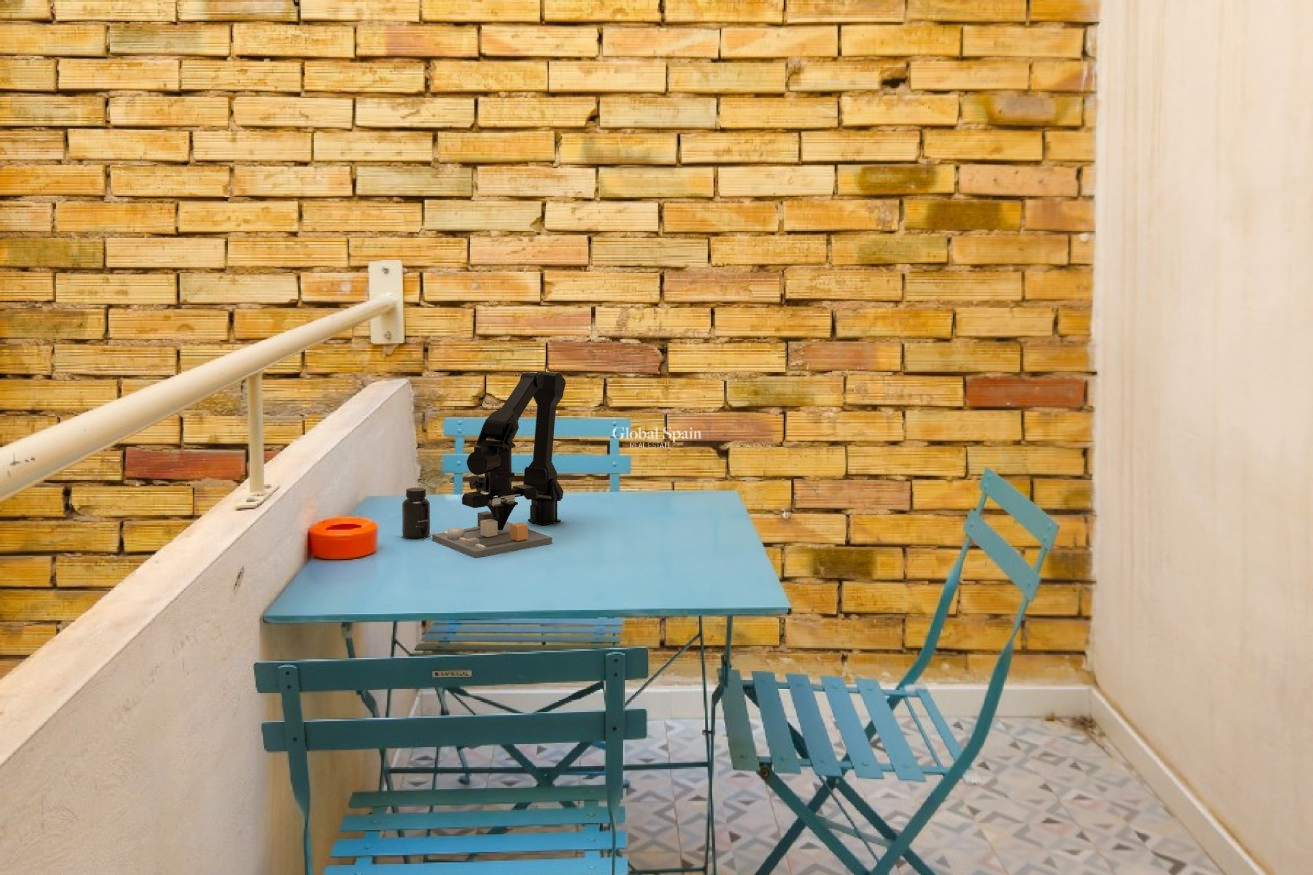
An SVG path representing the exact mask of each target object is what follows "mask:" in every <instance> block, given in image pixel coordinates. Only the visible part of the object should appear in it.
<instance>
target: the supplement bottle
mask: <svg viewBox="0 0 1313 875" xmlns="http://www.w3.org/2000/svg"><path fill="white" fill-rule="evenodd" d="M405 497H406V499H404V500H403V502H402V504H401V505H402V506H401V510H402V511H401V514H402V515H401V516H402V517H401V520H402V524H401V526H402V528H401V529H402V530H401V531H402V536H403V538H405V539H408V540H409V539H410V540H420V539H421V540H422V539H426V538H429V536H430V535H431V504H430V503H431V502H430V501H429V500H428V499H427V498H426V497H427V490H426V488H423V487H409V488H406V490H405Z"/></svg>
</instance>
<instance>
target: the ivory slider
mask: <svg viewBox="0 0 1313 875" xmlns="http://www.w3.org/2000/svg"><path fill="white" fill-rule="evenodd" d="M480 528H481V535H483V536H486V537H490V536H496V535H498V527H497V521H495V520H492V519H487V520H482V521H480Z"/></svg>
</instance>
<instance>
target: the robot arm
mask: <svg viewBox="0 0 1313 875" xmlns="http://www.w3.org/2000/svg"><path fill="white" fill-rule="evenodd" d="M565 388H566V379H565V377H563V375H562V373H561V372H554V371H540V370H539V371H537V372H533V371H531V372H530V371H526V372H522V373H521V375H520V378H519V381H518V382H517V384H516V386H515V388H514V389H513V390H512V392H511V393H510V395H509V396H508V398H507V399H506V401H505V402H504V403H503V405H502V406H501V408H498V409H497V410H494V411H493V412H492V413H491V414H490V415H489V416H488V417H487V418H486V419H485V421H484V423H483V424H482V427H481V430H480V432H479V435H478V439H477V441H476V443H475V445H476V446H474V447H473V451H472V452H471V453H469V455H468V457H467V459H466V466H467V468H468V471H469V472H470V473H471V474H473V475H472V476H469V479H468V485H469V488H470V489H471V490H476V491H470V492H464V493H463V495H462V497H461V504H462V505H463V506H466V507H469V508H472V509H479V508H485V507H487V508H488V509H489V512H491V513H492V515H493V518H494V520H495V521H497V527H498V530H503V528H504V526H505V524H506V522H508V519H509V518H510V516H511V513H512V512H513V511H514V508H515V507H516V506H518V505H519V502H518V501H516V498H519V497H524V498H525V499H526V500H527V501H528V500H529V501H530V505H529V518H527V521H528V522H530V523H534V524H537V525H540V526H545V525H551V524H555V523H561V522H562V520H561V519H559V518H558V502H561V501H562V500H563V497H564V493H565V492H564V489H563V488H562V487H561V484H560V483H559V481H558V473H557V472H558V471H557V470H556V468H555V466H554V464H553V450H554V449H553V448H554V437H555V436H554V435H555V424H556V412H557V410H556V409H557V406H558V405H559V403H560V402H561V400H562V399H564V398H563V397H564V393H565V392H564V391H565ZM532 399H534V400H533V401H534V402H535V403H536V417H535V428H534V429H535V430H534V440H533V441H534V442H533V454H532V460H531V462H530V463H529V465H528V466H525V467H524V470H523V471H524V473H523V474H524V475H523V480H522V482H523V483H522V484H516V485H513V484H512V483H513V482H512V480H513V479H512V478H514V477H515V476H516V475H515V472H513V471H512V468H513V467H512V466H513V465H512V464H513V463H512V460H513V459H512V455H513V454H512V450H513V449H514V448H516V444H515V443H514V442H513V440H514V439H515V437H516V435H517V433H518V430H519V428H520V426H519V419H520V418H521V416H522V414H523V413H524V411H525V410H526V408H527V406H528V405H529V403H530V401H532ZM481 475H484V477H480V476H481ZM512 485H513V486H512ZM482 492H483V493H482Z"/></svg>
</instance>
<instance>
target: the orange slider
mask: <svg viewBox="0 0 1313 875" xmlns="http://www.w3.org/2000/svg"><path fill="white" fill-rule="evenodd" d="M528 529H529V524H526V523H523V522H518V523H513V524H511V539H514V540H517V541H520V540H525V539H528Z"/></svg>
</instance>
